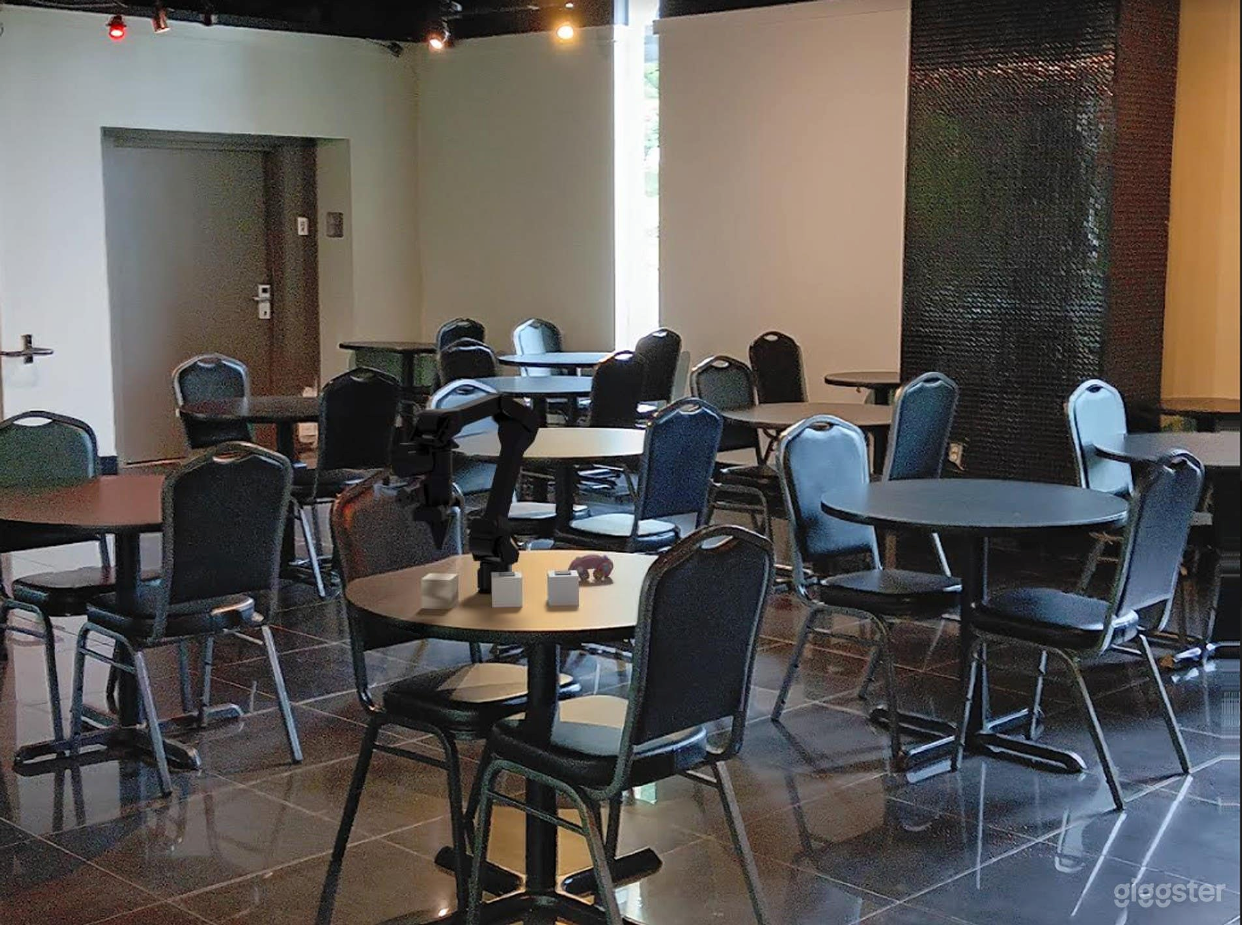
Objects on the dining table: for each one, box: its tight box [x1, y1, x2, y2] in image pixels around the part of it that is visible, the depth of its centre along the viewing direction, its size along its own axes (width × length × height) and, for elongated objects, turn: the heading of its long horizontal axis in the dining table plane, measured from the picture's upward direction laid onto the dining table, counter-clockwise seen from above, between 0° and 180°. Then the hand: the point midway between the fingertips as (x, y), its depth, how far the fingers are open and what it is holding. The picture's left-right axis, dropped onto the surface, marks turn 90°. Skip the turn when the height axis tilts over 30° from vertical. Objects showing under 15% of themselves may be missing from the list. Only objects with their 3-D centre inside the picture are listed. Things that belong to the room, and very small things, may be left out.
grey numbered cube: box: [546, 569, 580, 607], centre depth 312 cm, size 6×6×6 cm
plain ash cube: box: [420, 572, 459, 610], centre depth 309 cm, size 6×6×6 cm
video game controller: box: [567, 553, 615, 581], centre depth 334 cm, size 10×5×7 cm, turn 107°
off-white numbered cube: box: [491, 571, 524, 608], centre depth 311 cm, size 6×6×6 cm
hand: (439, 549), depth 308 cm, fingers closed
